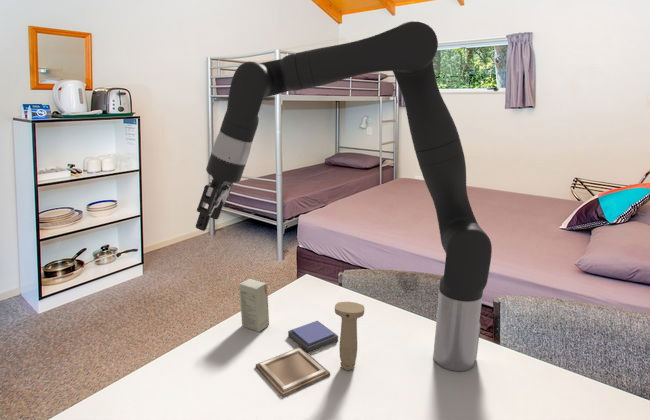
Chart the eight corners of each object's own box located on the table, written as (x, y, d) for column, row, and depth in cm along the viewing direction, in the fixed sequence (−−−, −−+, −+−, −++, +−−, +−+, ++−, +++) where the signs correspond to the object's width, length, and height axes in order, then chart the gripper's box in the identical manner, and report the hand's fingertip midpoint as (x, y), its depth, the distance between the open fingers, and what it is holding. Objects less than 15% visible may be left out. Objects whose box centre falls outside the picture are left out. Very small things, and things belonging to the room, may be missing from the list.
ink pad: (317, 325, 114) (317, 318, 113) (338, 341, 106) (338, 334, 106) (288, 336, 108) (288, 329, 108) (308, 353, 101) (308, 345, 101)
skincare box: (269, 325, 113) (268, 283, 110) (258, 332, 110) (257, 289, 107) (251, 318, 117) (250, 277, 113) (240, 325, 113) (238, 283, 110)
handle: (360, 375, 94) (362, 314, 90) (331, 371, 95) (332, 310, 91) (363, 362, 98) (365, 303, 94) (336, 358, 100) (337, 300, 95)
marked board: (300, 349, 103) (300, 345, 103) (330, 375, 94) (330, 371, 93) (255, 366, 96) (255, 362, 96) (282, 396, 87) (282, 392, 87)
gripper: (236, 168, 84) (212, 240, 88) (253, 157, 98) (232, 220, 102) (201, 154, 84) (178, 226, 88) (223, 145, 97) (202, 208, 102)
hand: (207, 223), depth 95 cm, fingers open, 8 cm apart
